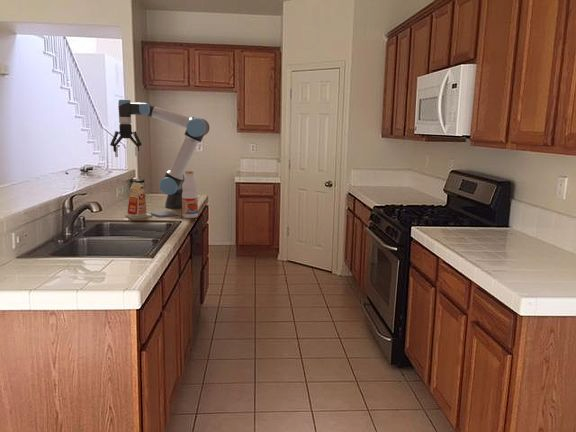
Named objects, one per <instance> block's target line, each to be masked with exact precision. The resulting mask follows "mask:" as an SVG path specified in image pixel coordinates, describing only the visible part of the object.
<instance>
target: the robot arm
mask: <svg viewBox="0 0 576 432" xmlns="http://www.w3.org/2000/svg"><path fill="white" fill-rule="evenodd" d="M117 109H118V122H119V125H118V126H119V127H118V128H119V131H117V130H115V131H114V134H113V137H112V139H111V141H110V144H109V145H110V146H111V147H112V148H113V149H112V150H113V152H114V157H115V158H119V151H118V150H119V148H118V144H119V143H120V142H121V141H122V140H123V139H129V140H130V141H131V142H132V143H133V144H134V156H135V157H139V152H140V146H142V142H141V140H140V138H139V136H138V134H137V131H135V130H134V131H132V127H133V126H132V115H133V116H135V115H136V116H137V115H138V116H147V117H150V118H153V119H156V120H160V121H163V122H166V123H168V124H169V123H170V124H172V125H175V126H179V127H181V128H184V129H186V130H185V132H184V137H185V138H184V140H183V141H182V144H181V147H180V148H179V149H178V153H177V155H176V157H175V159H174V161H173V163H172V165H171V167H170V169H169V170H167V171H166V173H165V174H164V176H163V177H162V179H161V180H160V181H159V186H158V187H159V189H160V191H161V192H162V193H163V194H165V195H167V197H166V200H165V203H164V204H165V205H164V207H165V208H169V209H182V192H183V189H182V184H183V182H184V180H185V174H184V172H186V169H187V166H188V165H189V162H190V161H191V158H192V156H193V154H194V151H195V150H196V147H197V146H198V144H200V143H202V141H203V140H204V139H203V138H204V137H205V136H206V135H207V134H208V133H209V132H210V124H209V122H208V121H207V120H206V119H205V118H200V117H194V116H192V117H189V116H186V115H182V114H181V113H180V114H179V113H177V112H174V111H170V110H167V109H164V108H162V107H161V108H160V107H158V106H155V105H152V104H150V103H147V102H132V101H131V100H130V99H128V98H127V99H123V98H122V99H121V98H120V99H118V108H117ZM118 136H119V137H118Z"/></svg>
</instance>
